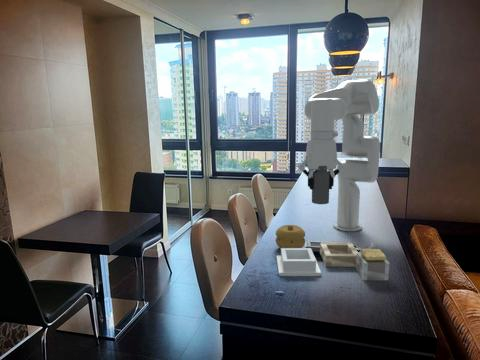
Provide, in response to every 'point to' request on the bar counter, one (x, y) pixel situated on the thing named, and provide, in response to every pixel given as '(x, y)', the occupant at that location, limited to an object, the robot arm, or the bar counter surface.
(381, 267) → the socket block
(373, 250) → the button
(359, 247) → the pliers
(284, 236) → the pot
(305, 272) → the cradle
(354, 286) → the bar counter surface
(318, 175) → the bottle
